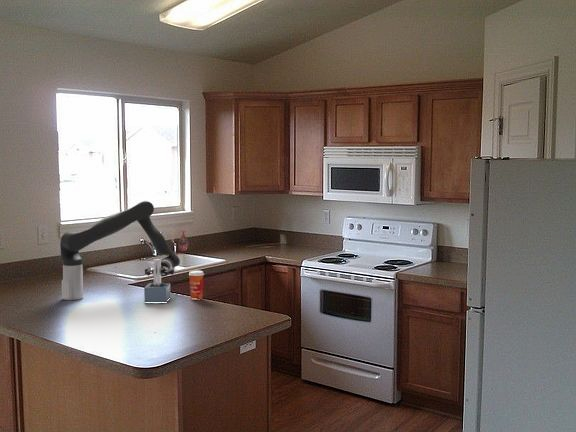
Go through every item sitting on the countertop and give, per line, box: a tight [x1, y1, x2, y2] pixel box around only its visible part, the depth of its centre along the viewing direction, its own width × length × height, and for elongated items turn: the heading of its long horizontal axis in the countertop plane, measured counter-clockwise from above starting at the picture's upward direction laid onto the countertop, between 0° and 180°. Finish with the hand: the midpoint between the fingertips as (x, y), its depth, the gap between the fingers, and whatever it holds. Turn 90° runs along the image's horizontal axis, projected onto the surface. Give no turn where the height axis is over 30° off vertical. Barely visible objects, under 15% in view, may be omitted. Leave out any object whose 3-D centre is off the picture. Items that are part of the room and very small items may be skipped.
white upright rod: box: [152, 258, 162, 287], centre depth 309 cm, size 4×4×20 cm
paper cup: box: [188, 270, 205, 300], centre depth 315 cm, size 8×8×14 cm
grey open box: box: [143, 282, 171, 303], centre depth 310 cm, size 11×11×8 cm
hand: (156, 273), depth 308 cm, fingers open, 8 cm apart
